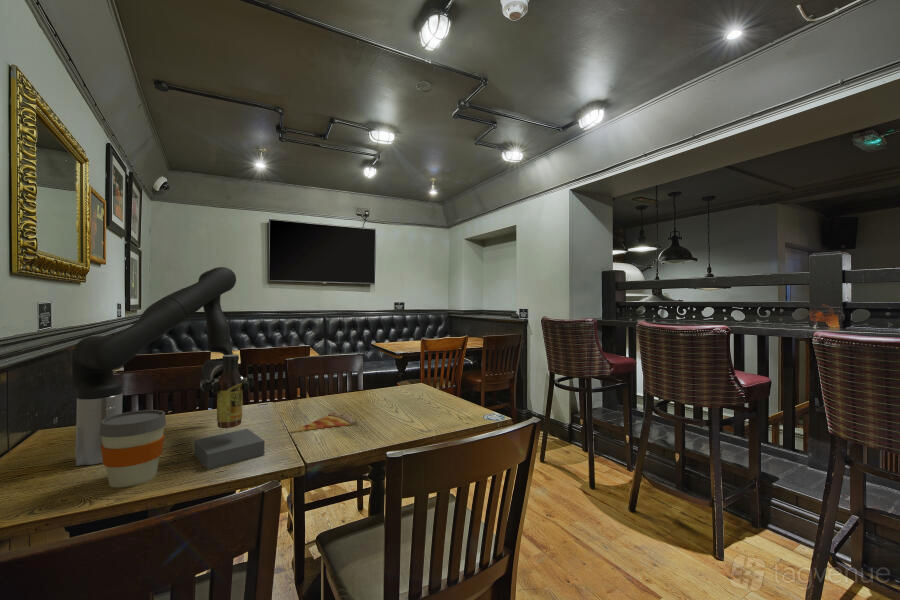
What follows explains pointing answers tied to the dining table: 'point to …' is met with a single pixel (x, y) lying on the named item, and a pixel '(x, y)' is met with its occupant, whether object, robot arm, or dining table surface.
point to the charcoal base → (228, 448)
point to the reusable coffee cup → (132, 446)
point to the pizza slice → (328, 422)
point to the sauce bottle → (229, 394)
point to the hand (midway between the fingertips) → (231, 388)
